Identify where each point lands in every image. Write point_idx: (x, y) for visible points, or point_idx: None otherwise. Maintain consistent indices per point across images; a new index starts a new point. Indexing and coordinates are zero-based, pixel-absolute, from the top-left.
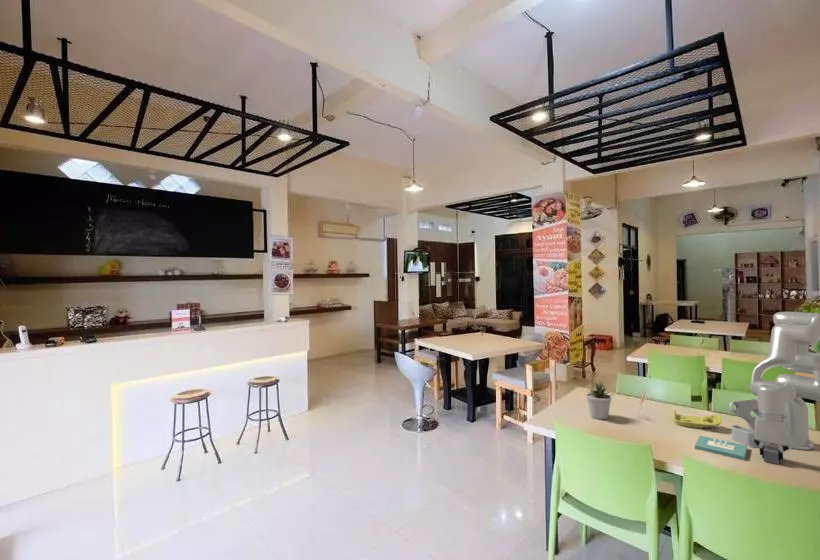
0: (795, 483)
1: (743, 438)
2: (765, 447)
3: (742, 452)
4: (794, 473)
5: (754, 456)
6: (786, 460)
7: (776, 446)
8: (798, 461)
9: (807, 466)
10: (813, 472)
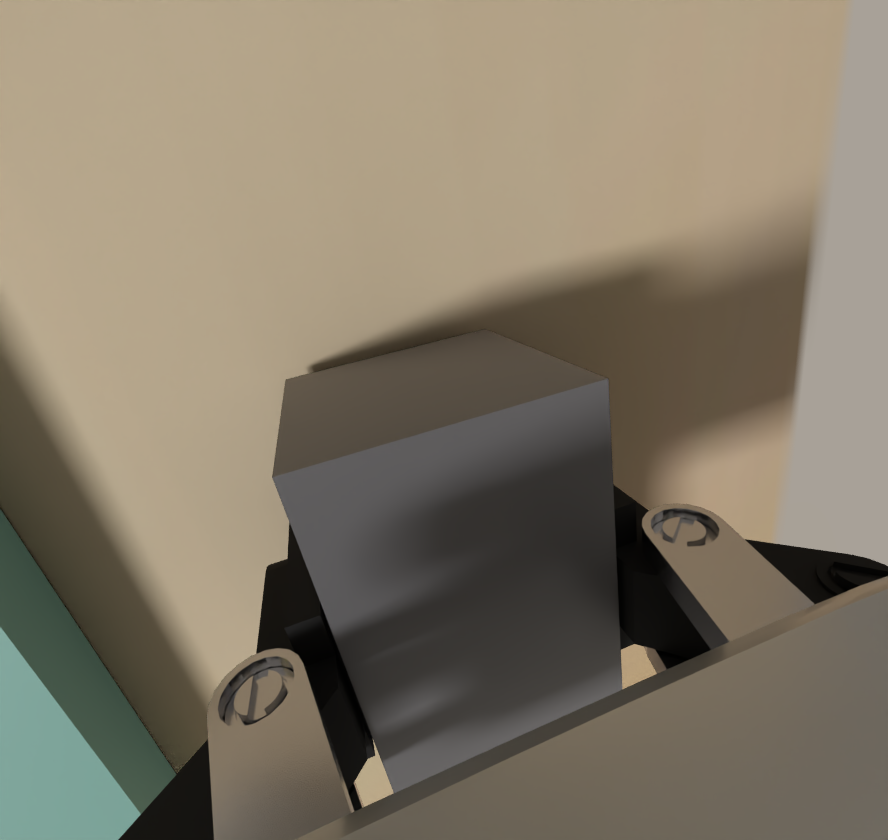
0: None
1: None
2: (394, 707)
3: (60, 790)
4: None
5: (211, 583)
6: (568, 330)
7: (569, 422)
8: (688, 221)
9: (760, 330)
10: (785, 465)
